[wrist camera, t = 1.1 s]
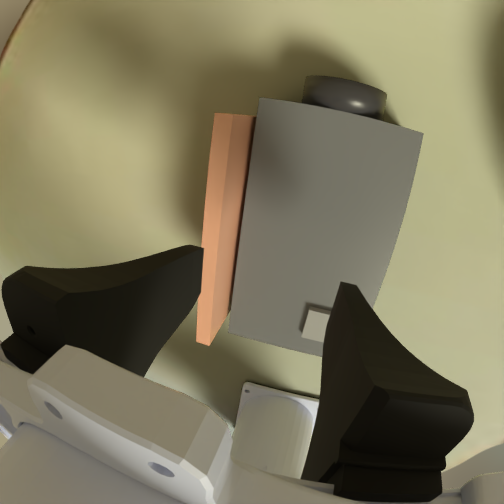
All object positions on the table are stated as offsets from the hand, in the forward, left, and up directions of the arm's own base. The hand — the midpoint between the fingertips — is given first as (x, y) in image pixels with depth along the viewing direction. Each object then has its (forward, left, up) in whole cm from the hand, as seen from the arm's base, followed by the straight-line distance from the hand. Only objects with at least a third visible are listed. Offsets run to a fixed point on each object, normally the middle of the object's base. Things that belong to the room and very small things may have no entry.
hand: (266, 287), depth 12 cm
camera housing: (0, -1, -9) cm, 10 cm away
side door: (0, +4, -9) cm, 10 cm away
